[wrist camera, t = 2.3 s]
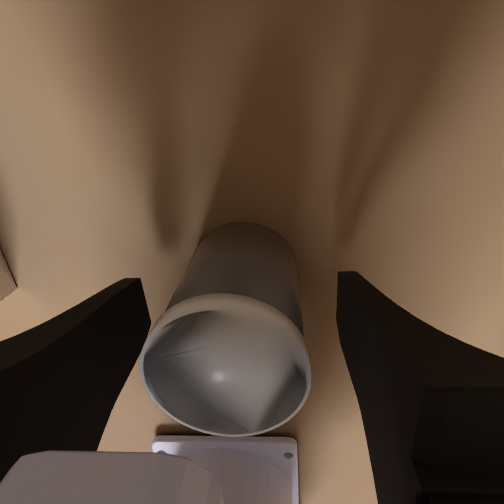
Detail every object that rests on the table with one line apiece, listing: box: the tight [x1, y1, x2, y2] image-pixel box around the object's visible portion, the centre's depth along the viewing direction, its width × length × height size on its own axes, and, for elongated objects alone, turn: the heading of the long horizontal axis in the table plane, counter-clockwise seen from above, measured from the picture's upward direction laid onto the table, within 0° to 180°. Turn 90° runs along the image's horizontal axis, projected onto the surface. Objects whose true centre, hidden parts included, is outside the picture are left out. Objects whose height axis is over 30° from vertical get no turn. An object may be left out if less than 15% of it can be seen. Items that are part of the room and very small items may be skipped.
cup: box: [139, 222, 312, 437], centre depth 12 cm, size 5×5×6 cm
